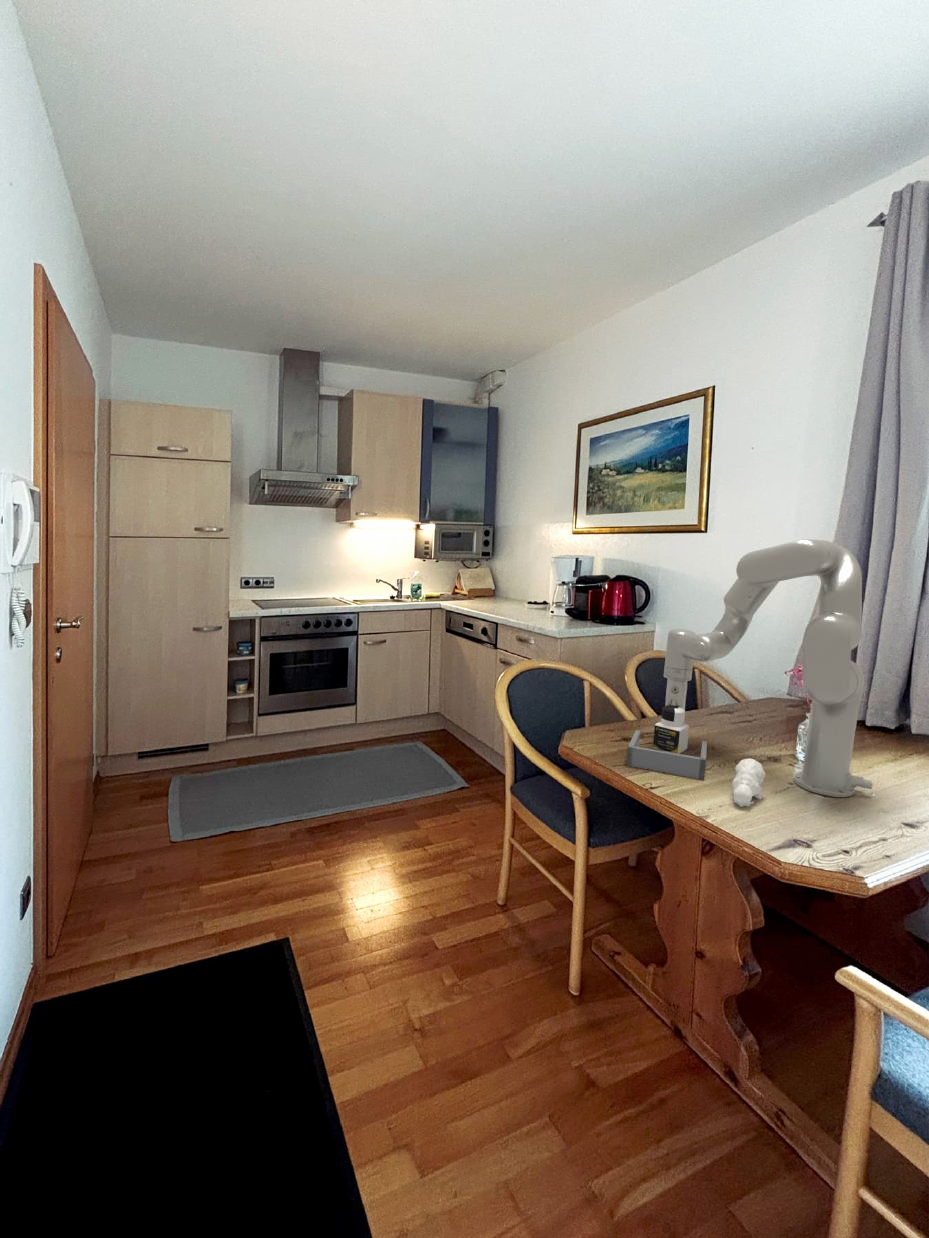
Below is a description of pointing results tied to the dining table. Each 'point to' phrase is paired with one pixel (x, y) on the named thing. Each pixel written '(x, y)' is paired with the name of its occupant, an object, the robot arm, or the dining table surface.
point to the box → (666, 760)
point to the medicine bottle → (671, 731)
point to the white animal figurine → (747, 781)
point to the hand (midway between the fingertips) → (671, 734)
